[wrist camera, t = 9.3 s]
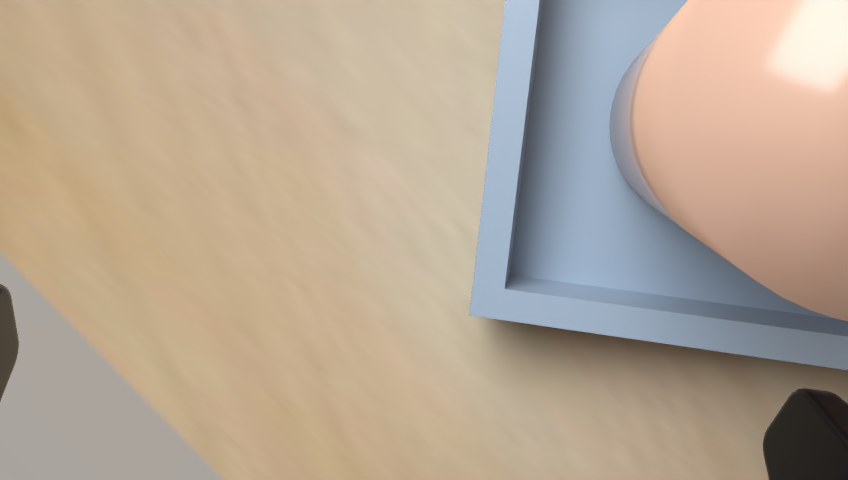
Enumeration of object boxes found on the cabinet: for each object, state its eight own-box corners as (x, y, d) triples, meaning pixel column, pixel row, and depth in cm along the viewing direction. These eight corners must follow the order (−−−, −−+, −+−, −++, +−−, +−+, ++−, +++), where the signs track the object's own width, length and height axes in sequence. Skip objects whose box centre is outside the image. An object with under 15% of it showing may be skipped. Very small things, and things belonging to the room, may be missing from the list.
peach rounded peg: (805, 236, 19) (1120, 356, 8) (597, 213, 20) (642, 297, 9) (841, 25, 18) (1238, -139, 8) (623, 10, 19) (705, -155, 8)
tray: (895, 352, 20) (941, 384, 17) (479, 294, 22) (469, 315, 19) (989, -90, 18) (1055, -123, 16) (527, -114, 20) (521, -147, 17)
